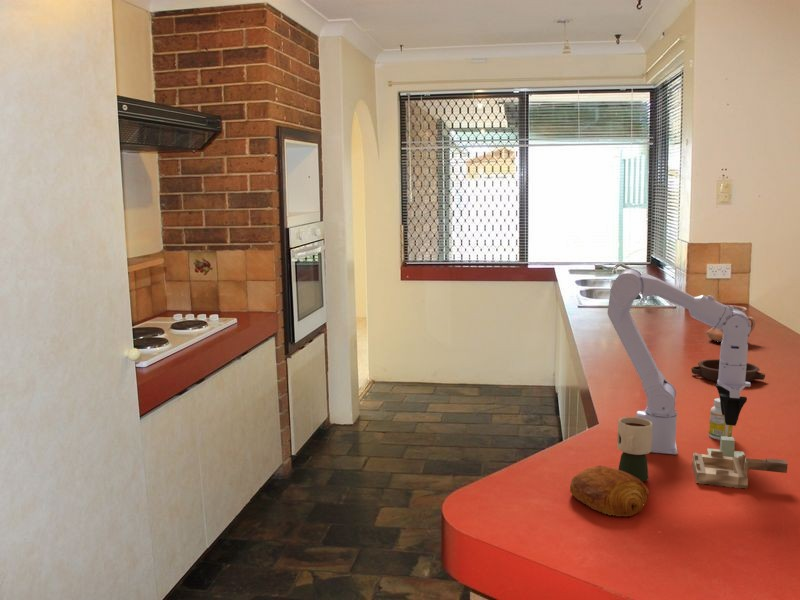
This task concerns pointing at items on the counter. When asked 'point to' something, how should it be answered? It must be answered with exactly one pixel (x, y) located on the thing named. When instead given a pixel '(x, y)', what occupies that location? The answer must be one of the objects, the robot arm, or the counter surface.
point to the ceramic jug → (718, 333)
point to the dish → (711, 370)
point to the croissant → (609, 491)
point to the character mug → (634, 445)
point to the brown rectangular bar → (767, 465)
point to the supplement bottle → (718, 422)
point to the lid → (727, 447)
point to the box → (720, 470)
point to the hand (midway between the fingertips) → (728, 419)
